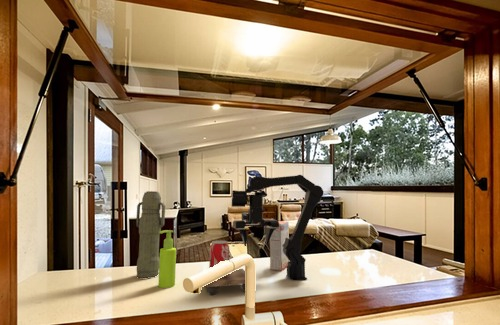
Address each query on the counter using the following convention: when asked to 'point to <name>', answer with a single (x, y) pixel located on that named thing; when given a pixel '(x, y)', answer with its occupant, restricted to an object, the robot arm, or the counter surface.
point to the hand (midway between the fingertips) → (256, 245)
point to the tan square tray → (228, 281)
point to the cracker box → (279, 247)
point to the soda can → (218, 252)
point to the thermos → (149, 234)
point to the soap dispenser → (167, 262)
